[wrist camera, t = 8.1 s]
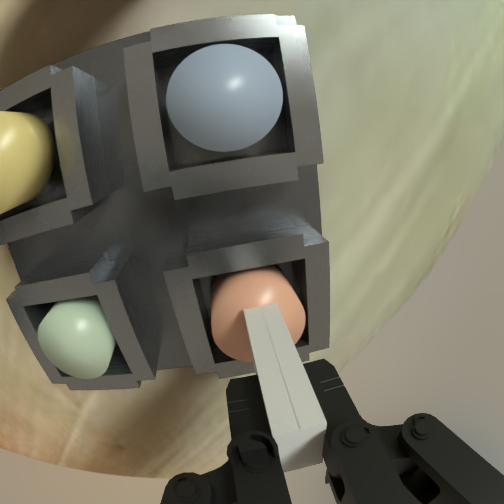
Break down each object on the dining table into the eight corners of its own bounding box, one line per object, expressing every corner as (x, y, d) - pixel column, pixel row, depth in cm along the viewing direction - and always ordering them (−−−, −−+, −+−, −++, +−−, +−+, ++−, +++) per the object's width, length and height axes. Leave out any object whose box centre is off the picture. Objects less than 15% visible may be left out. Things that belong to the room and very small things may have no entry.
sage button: (74, 349, 16) (60, 379, 13) (47, 292, 14) (25, 318, 12) (130, 344, 16) (121, 377, 14) (106, 282, 15) (88, 310, 12)
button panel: (72, 367, 18) (58, 401, 15) (-8, 103, 11) (-44, 102, 7) (319, 331, 20) (339, 366, 16) (289, 22, 12) (311, -5, 9)
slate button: (182, 157, 13) (175, 161, 10) (169, 71, 12) (160, 54, 9) (273, 143, 14) (289, 143, 11) (261, 59, 12) (274, 40, 9)
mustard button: (0, 211, 11) (-34, 229, 8) (-13, 132, 9) (-50, 135, 6) (63, 189, 11) (29, 203, 8) (49, 99, 9) (13, 93, 7)
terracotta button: (218, 334, 17) (221, 369, 14) (202, 266, 15) (202, 295, 12) (292, 320, 17) (306, 351, 14) (286, 251, 15) (303, 276, 13)
